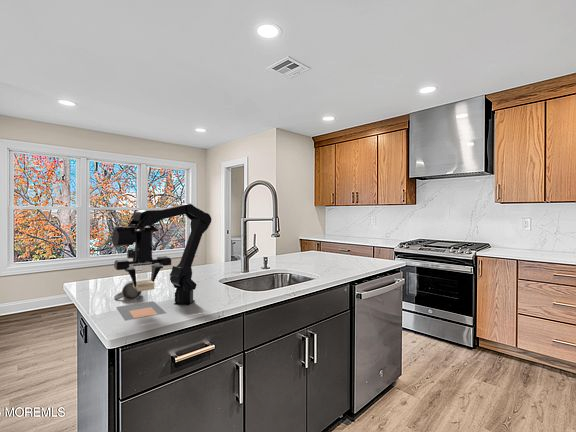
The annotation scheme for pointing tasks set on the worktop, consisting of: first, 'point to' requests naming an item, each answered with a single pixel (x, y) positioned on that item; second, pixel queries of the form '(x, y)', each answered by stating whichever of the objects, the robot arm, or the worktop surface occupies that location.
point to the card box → (144, 284)
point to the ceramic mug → (128, 292)
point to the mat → (140, 310)
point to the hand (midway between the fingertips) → (143, 285)
